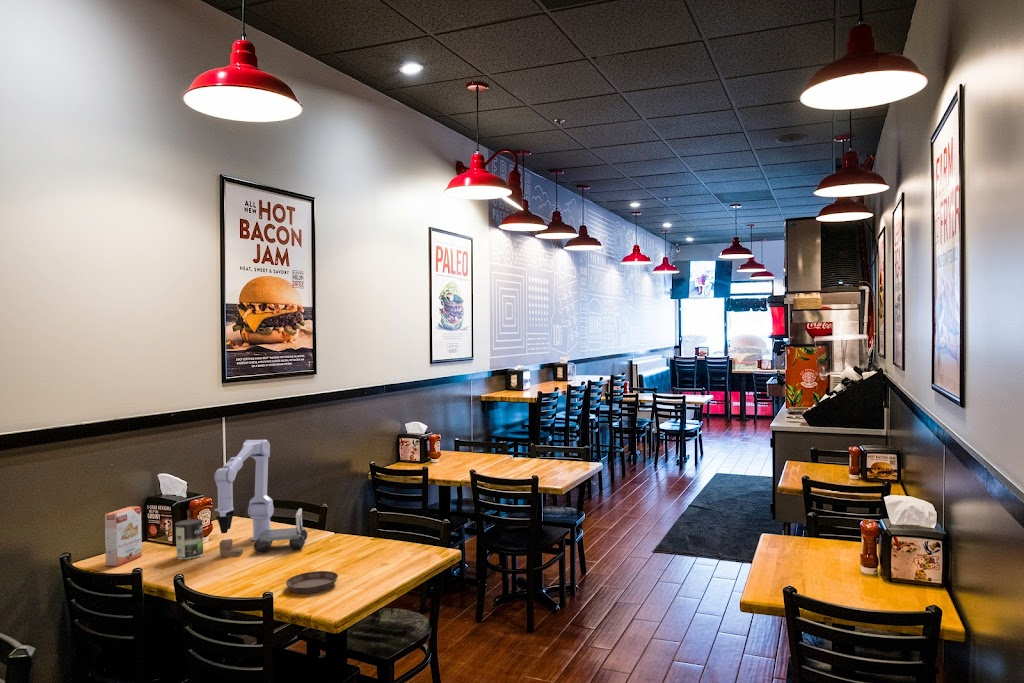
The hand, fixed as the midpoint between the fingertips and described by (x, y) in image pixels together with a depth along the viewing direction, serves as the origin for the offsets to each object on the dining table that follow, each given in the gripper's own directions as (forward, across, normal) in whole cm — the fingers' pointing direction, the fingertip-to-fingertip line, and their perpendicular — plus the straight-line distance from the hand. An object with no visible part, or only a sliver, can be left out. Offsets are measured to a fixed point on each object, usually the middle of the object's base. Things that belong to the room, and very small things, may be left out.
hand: (225, 531), depth 292 cm
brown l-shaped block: (+10, -1, +2) cm, 10 cm away
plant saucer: (+12, +51, +36) cm, 64 cm away
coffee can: (+10, -6, -15) cm, 19 cm away
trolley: (+10, -5, +21) cm, 24 cm away
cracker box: (+11, -7, -40) cm, 42 cm away
